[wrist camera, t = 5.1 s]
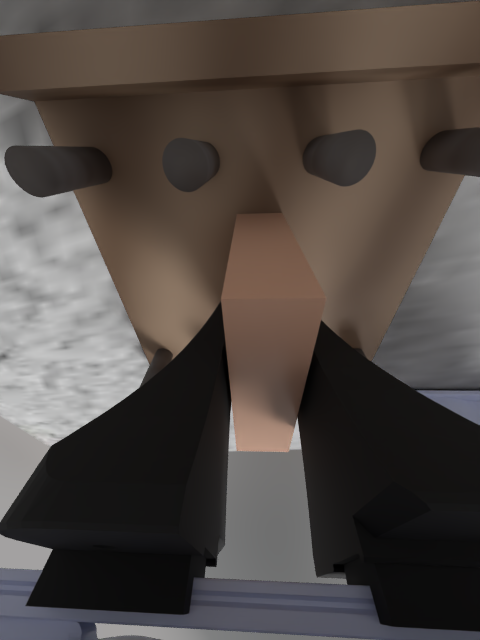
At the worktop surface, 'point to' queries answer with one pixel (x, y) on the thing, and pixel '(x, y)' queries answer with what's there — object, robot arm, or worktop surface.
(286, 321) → the pink square slab
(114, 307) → the worktop surface
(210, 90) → the rack
